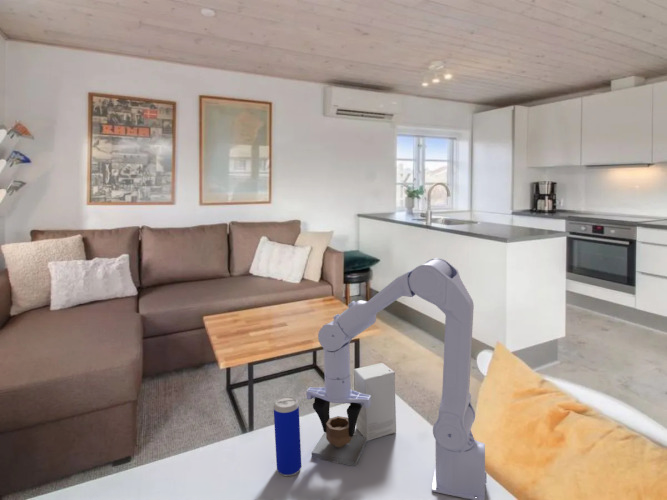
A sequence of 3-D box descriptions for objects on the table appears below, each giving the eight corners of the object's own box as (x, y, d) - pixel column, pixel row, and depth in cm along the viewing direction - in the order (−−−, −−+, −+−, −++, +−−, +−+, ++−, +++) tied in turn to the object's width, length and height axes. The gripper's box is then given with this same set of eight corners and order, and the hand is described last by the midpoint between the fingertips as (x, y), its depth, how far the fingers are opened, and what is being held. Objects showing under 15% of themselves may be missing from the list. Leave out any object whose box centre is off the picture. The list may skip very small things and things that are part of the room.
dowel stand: (366, 441, 93) (366, 421, 92) (355, 466, 85) (354, 444, 84) (326, 434, 96) (325, 415, 96) (311, 457, 88) (310, 436, 87)
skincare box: (384, 420, 102) (383, 361, 100) (397, 434, 96) (397, 371, 94) (354, 428, 99) (352, 367, 97) (366, 442, 93) (364, 378, 91)
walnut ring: (354, 433, 92) (353, 418, 91) (347, 447, 87) (346, 431, 86) (332, 429, 94) (331, 415, 93) (323, 442, 89) (323, 427, 88)
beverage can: (302, 460, 87) (299, 395, 85) (301, 476, 82) (297, 407, 80) (278, 462, 87) (274, 396, 85) (275, 478, 82) (271, 408, 80)
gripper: (373, 370, 90) (375, 427, 91) (313, 363, 95) (316, 417, 96) (365, 384, 83) (367, 445, 85) (301, 376, 88) (304, 434, 90)
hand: (339, 432), depth 90 cm, fingers closed on walnut ring, 5 cm apart
